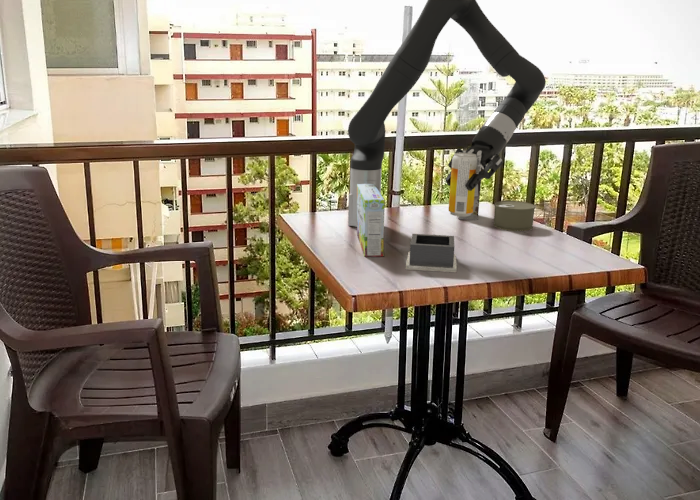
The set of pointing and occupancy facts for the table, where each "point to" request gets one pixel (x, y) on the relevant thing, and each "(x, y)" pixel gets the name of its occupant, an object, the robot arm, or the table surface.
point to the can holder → (431, 253)
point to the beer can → (462, 184)
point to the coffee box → (476, 204)
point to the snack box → (370, 220)
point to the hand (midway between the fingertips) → (458, 186)
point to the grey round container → (513, 215)
